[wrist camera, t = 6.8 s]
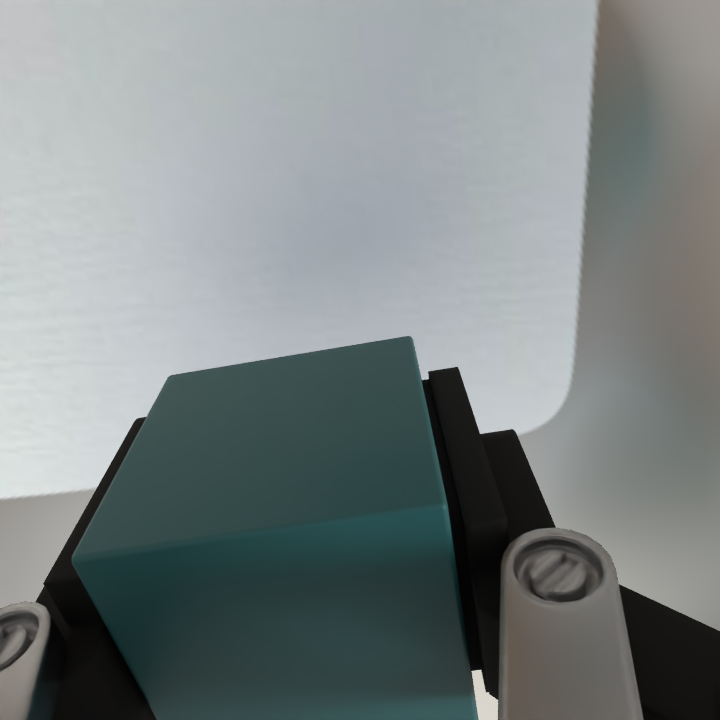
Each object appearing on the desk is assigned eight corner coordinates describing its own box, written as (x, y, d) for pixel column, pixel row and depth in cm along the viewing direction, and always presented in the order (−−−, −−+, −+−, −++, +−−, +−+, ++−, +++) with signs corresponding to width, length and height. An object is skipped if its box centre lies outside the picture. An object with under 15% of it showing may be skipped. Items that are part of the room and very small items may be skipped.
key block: (411, 334, 11) (448, 504, 7) (440, 523, 13) (481, 739, 9) (167, 374, 11) (66, 560, 7) (233, 553, 13) (183, 775, 9)
